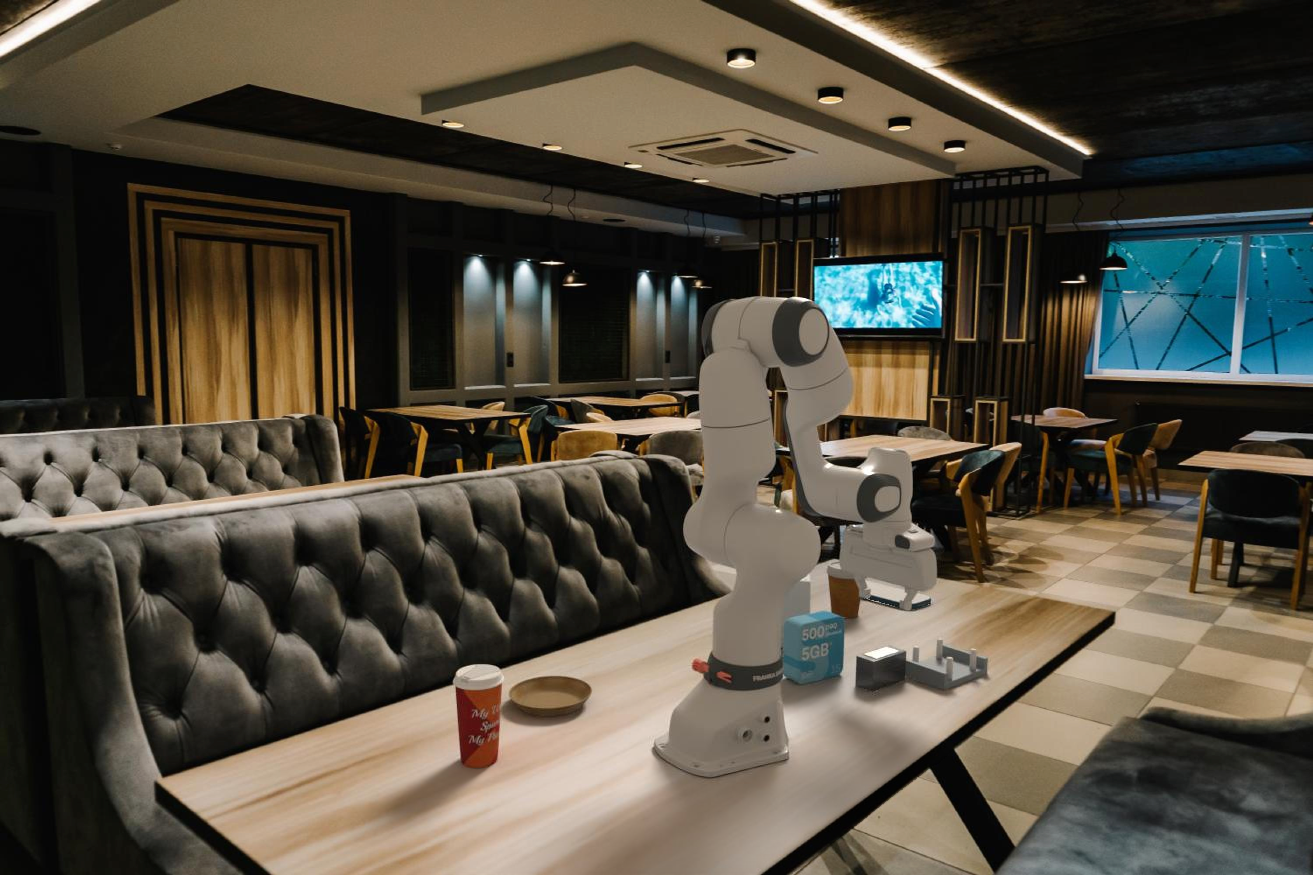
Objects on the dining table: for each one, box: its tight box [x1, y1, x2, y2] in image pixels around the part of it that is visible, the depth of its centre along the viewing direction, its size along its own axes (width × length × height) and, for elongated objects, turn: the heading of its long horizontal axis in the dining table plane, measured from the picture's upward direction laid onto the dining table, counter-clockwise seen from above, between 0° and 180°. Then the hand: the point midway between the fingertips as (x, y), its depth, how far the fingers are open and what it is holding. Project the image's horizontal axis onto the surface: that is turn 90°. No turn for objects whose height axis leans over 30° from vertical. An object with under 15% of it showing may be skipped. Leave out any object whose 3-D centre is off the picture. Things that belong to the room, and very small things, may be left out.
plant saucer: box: [508, 675, 593, 717], centre depth 157 cm, size 15×15×3 cm
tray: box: [905, 638, 989, 691], centre depth 174 cm, size 15×10×5 cm
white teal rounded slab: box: [865, 579, 932, 610], centre depth 228 cm, size 24×12×2 cm, turn 41°
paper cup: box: [452, 663, 505, 769], centre depth 135 cm, size 8×8×14 cm
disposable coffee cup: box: [825, 560, 862, 619], centre depth 212 cm, size 10×10×12 cm
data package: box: [782, 610, 846, 685], centre depth 171 cm, size 12×4×12 cm, turn 122°
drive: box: [854, 645, 907, 693], centre depth 169 cm, size 10×4×6 cm, turn 128°
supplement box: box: [781, 573, 812, 649], centre depth 191 cm, size 9×9×15 cm
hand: (884, 603), depth 168 cm, fingers open, 8 cm apart
